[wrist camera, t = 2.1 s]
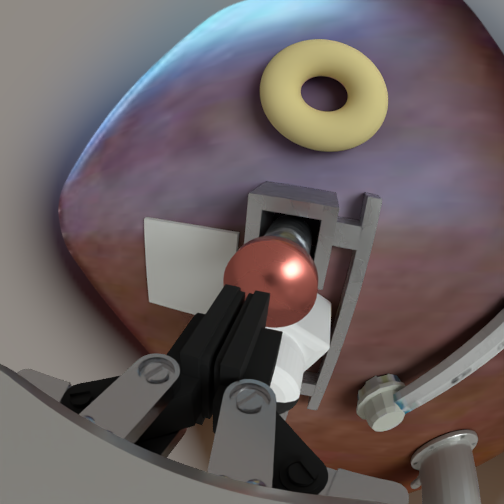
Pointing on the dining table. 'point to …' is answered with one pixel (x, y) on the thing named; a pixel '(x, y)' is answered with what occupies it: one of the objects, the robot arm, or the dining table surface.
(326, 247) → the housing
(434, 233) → the dining table surface
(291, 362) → the medicine bottle
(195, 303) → the mat
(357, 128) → the donut
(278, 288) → the plunger
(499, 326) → the grey piece
